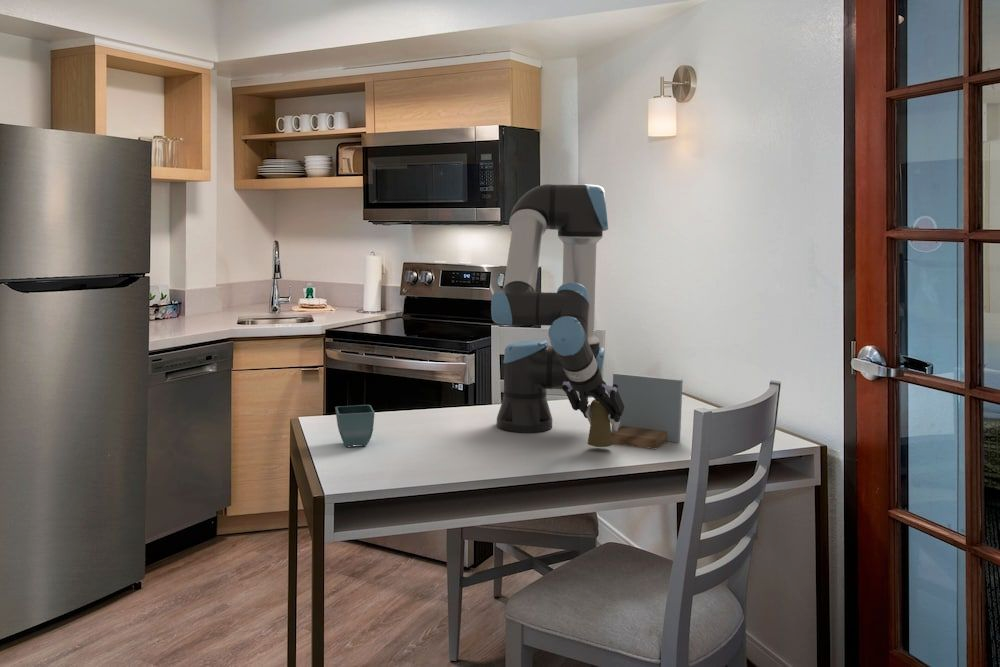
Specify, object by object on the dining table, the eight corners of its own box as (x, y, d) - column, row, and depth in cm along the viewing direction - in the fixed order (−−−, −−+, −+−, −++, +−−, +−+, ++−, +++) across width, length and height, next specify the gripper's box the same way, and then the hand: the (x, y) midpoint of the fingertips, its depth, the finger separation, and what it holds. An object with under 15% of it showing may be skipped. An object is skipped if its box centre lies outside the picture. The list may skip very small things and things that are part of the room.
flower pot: (338, 450, 204) (337, 413, 203) (335, 441, 212) (334, 406, 211) (375, 448, 206) (374, 412, 205) (370, 439, 215) (370, 404, 214)
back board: (611, 433, 224) (613, 373, 222) (613, 432, 225) (615, 372, 223) (678, 442, 215) (680, 380, 213) (680, 441, 217) (682, 379, 215)
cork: (596, 439, 211) (597, 395, 210) (617, 443, 208) (618, 399, 206) (582, 443, 207) (583, 399, 205) (603, 448, 203) (605, 403, 201)
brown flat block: (609, 442, 215) (610, 432, 214) (622, 435, 222) (622, 425, 222) (655, 449, 209) (656, 439, 209) (666, 441, 217) (667, 431, 216)
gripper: (540, 379, 196) (567, 433, 212) (615, 387, 187) (637, 443, 204) (550, 353, 199) (576, 408, 216) (624, 360, 191) (645, 417, 208)
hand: (606, 425), depth 210 cm, fingers closed on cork, 5 cm apart
